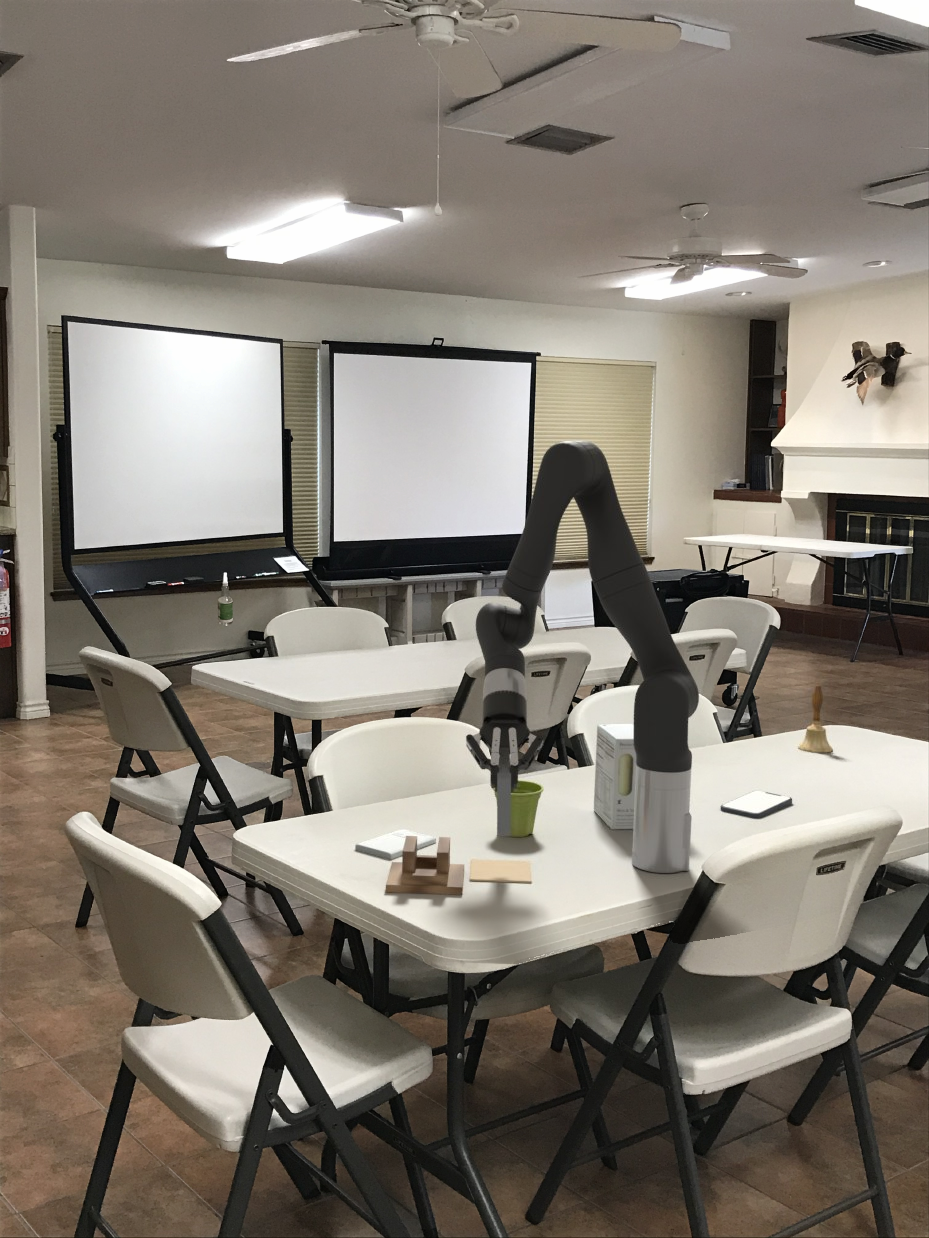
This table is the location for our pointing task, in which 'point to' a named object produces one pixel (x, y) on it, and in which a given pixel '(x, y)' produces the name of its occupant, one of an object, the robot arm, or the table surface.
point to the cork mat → (500, 871)
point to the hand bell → (816, 728)
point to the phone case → (756, 804)
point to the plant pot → (524, 807)
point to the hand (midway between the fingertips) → (504, 788)
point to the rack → (425, 871)
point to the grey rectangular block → (504, 802)
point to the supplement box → (615, 775)
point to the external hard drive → (393, 843)
